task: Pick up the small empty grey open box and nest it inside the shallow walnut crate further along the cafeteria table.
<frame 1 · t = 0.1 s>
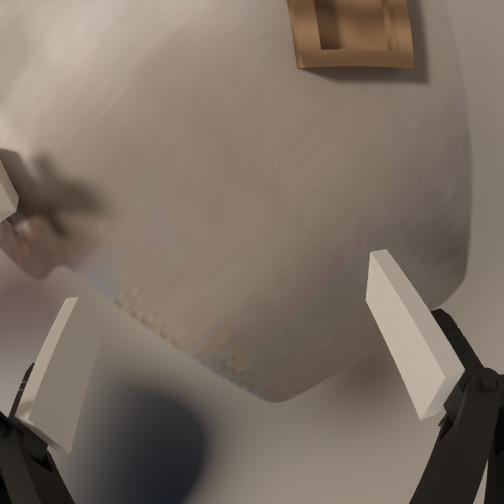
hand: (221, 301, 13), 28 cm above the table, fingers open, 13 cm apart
walnut crate: (343, 9, 28), on the table
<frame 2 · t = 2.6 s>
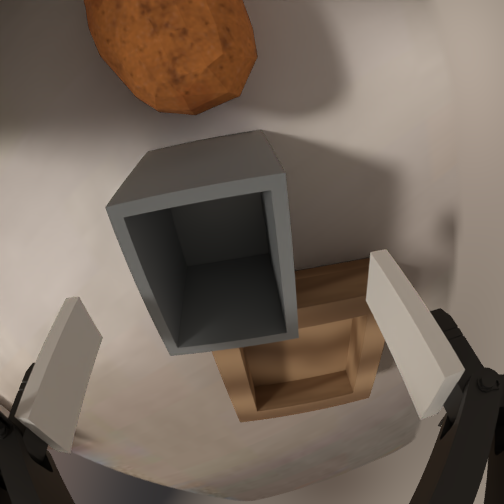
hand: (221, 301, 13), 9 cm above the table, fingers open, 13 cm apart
potato: (170, 9, 13), on the table
walnut crate: (297, 337, 28), on the table
grey open box: (216, 205, 20), on the table
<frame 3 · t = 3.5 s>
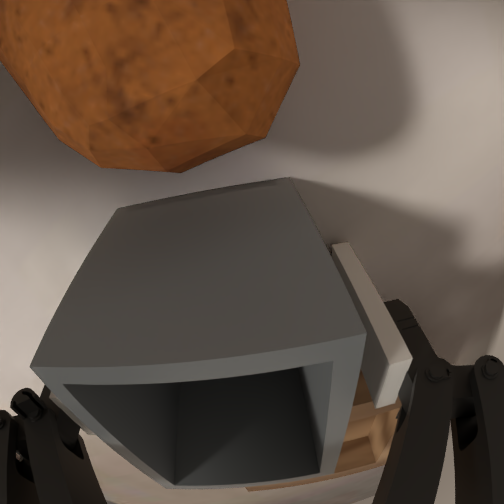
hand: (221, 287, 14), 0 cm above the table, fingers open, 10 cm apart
walnut crate: (317, 412, 22), on the table
grey open box: (221, 283, 14), on the table
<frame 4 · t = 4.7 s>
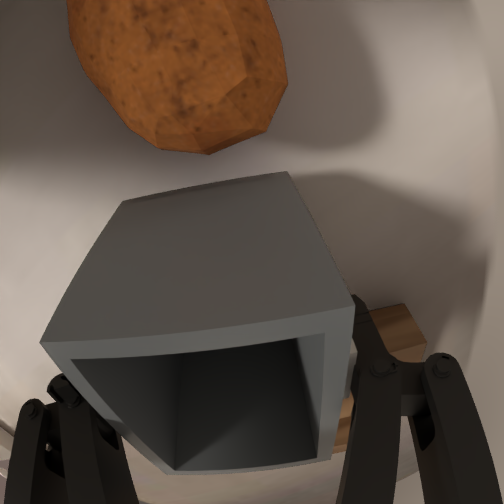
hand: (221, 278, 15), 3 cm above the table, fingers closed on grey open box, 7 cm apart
potato: (177, 16, 11), on the table
walnut crate: (314, 384, 25), on the table
grey open box: (221, 273, 15), point 3 cm above the table, touching gripper
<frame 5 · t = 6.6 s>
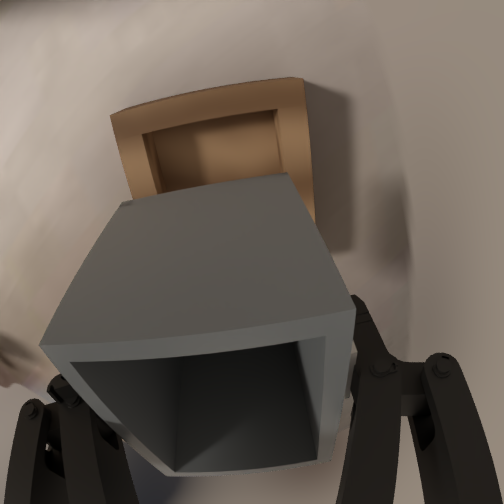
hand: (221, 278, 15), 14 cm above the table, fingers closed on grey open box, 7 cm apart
walnut crate: (222, 176, 27), on the table
grey open box: (221, 275, 15), point 14 cm above the table, touching gripper
when the fingers open (5 cm above the table, at t = 8.5 s): grey open box drops 3 cm, resting on walnut crate.
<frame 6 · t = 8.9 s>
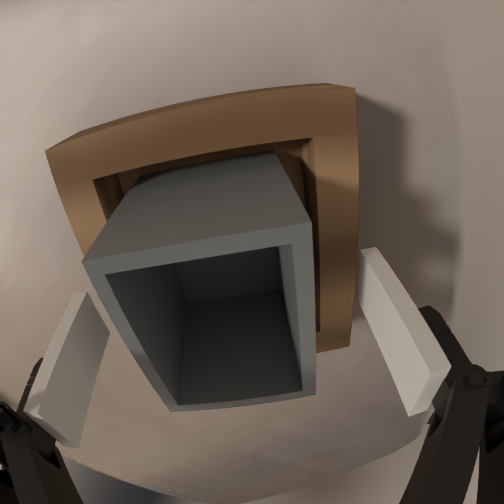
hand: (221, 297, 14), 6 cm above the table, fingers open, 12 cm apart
walnut crate: (222, 229, 19), on the table
grey open box: (221, 237, 18), point 1 cm above the table, touching walnut crate
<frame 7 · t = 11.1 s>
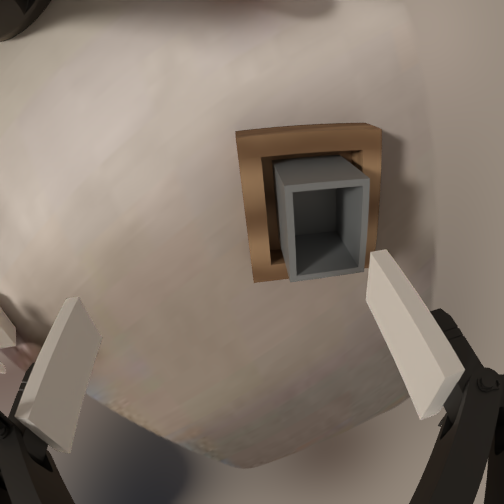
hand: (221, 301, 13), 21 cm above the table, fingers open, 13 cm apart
walnut crate: (307, 195, 34), on the table
grey open box: (308, 198, 33), point 1 cm above the table, touching walnut crate
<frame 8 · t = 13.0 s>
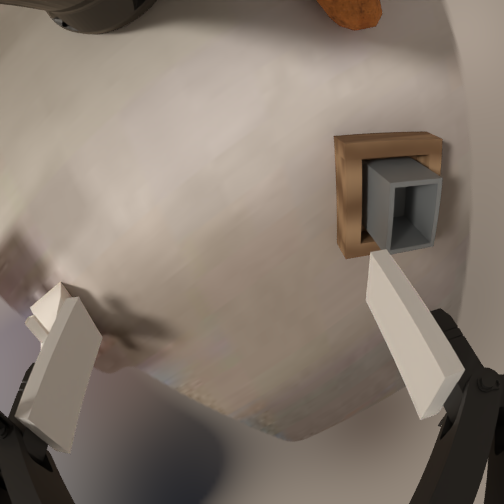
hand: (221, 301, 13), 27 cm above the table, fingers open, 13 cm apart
walnut crate: (382, 187, 40), on the table
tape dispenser: (68, 310, 48), on the table
grey open box: (385, 190, 39), point 1 cm above the table, touching walnut crate
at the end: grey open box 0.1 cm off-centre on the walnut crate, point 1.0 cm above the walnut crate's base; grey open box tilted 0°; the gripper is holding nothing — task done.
